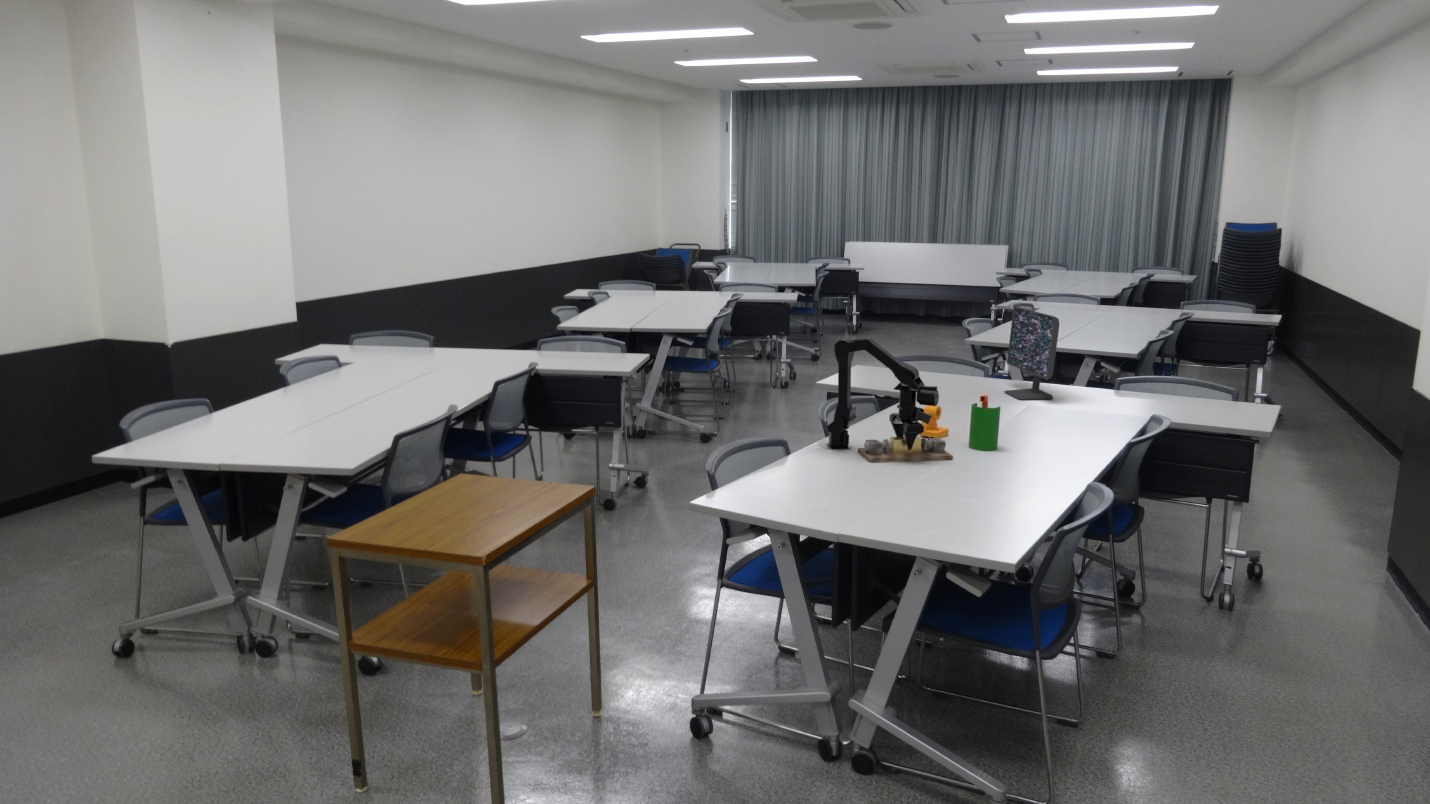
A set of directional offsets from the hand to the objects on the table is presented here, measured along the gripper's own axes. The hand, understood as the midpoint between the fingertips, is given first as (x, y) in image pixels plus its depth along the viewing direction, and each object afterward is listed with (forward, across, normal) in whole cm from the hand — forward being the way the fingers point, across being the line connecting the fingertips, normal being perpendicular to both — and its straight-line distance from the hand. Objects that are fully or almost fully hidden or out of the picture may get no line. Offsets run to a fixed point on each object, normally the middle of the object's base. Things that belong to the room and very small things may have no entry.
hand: (905, 446), depth 335 cm
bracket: (+4, +27, -22) cm, 35 cm away
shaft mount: (+4, 0, 0) cm, 4 cm away
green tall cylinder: (+4, +8, -33) cm, 34 cm away
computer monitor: (+4, +96, -96) cm, 136 cm away
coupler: (+2, 0, 0) cm, 2 cm away
